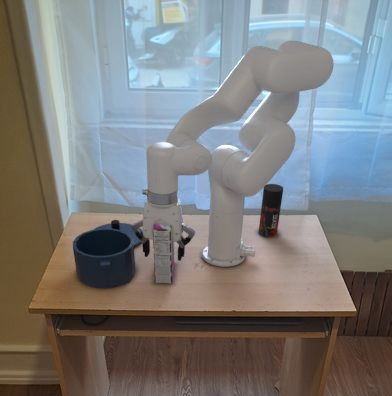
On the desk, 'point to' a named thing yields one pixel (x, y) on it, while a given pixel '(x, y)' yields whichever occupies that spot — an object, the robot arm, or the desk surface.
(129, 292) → the desk surface
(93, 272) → the pot
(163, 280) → the candy bar box
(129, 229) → the pot lid
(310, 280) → the desk surface
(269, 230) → the deodorant
